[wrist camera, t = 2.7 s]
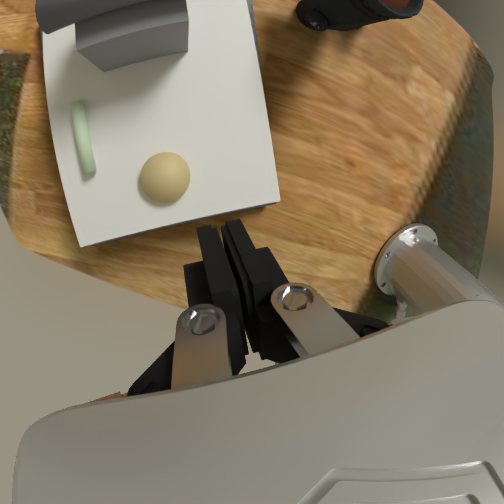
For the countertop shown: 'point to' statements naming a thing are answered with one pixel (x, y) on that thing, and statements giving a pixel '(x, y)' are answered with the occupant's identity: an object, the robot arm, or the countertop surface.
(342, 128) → the countertop surface
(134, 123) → the leveling plate
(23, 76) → the countertop surface
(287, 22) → the countertop surface
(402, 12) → the scope
